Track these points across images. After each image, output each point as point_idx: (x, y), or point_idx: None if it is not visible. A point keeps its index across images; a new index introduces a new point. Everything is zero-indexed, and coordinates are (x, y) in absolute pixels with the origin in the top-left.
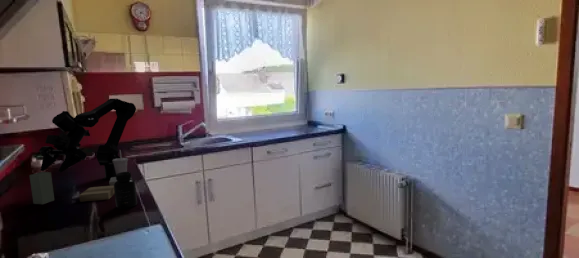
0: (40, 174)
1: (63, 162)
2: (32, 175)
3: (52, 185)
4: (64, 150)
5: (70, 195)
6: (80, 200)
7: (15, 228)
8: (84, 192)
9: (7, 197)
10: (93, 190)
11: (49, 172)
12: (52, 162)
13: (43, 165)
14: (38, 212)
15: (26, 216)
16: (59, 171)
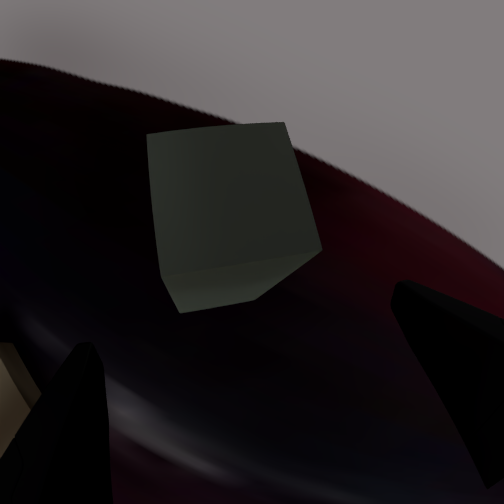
0: (184, 167)
1: (40, 446)
2: (242, 125)
3: (174, 301)
4: None
5: (179, 409)
6: (7, 344)
7: (27, 81)
8: (11, 392)
9: (454, 240)
10: (4, 435)
11: (173, 266)
12: (470, 438)
13: (438, 312)
14: (71, 168)
15: (80, 128)
16: (83, 346)
